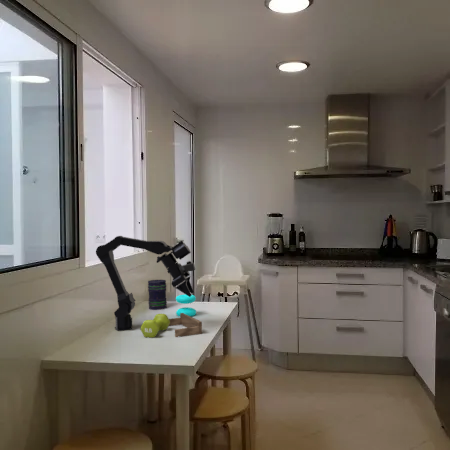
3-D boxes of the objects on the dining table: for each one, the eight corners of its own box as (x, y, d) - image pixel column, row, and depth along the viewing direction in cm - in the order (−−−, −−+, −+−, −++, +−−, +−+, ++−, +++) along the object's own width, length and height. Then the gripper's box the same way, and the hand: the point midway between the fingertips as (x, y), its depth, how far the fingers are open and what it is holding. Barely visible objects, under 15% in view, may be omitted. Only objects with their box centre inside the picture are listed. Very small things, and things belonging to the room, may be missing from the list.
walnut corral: (176, 337, 206) (175, 325, 206) (158, 326, 226) (158, 315, 226) (202, 333, 211) (201, 321, 211) (182, 323, 231) (182, 312, 231)
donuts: (174, 294, 253) (193, 293, 256) (174, 314, 253) (193, 312, 256) (177, 297, 243) (197, 296, 246) (178, 318, 243) (198, 316, 246)
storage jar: (165, 309, 266) (164, 281, 266) (147, 310, 266) (146, 282, 266) (167, 306, 276) (167, 279, 276) (150, 306, 276) (149, 279, 276)
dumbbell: (157, 338, 205) (156, 321, 204) (139, 338, 207) (138, 320, 207) (171, 329, 220) (171, 313, 220) (154, 328, 223) (154, 312, 222)
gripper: (184, 257, 212) (204, 287, 212) (189, 253, 231) (208, 281, 231) (162, 271, 213) (183, 302, 213) (169, 267, 231) (188, 294, 231)
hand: (191, 294), depth 222 cm, fingers open, 9 cm apart
